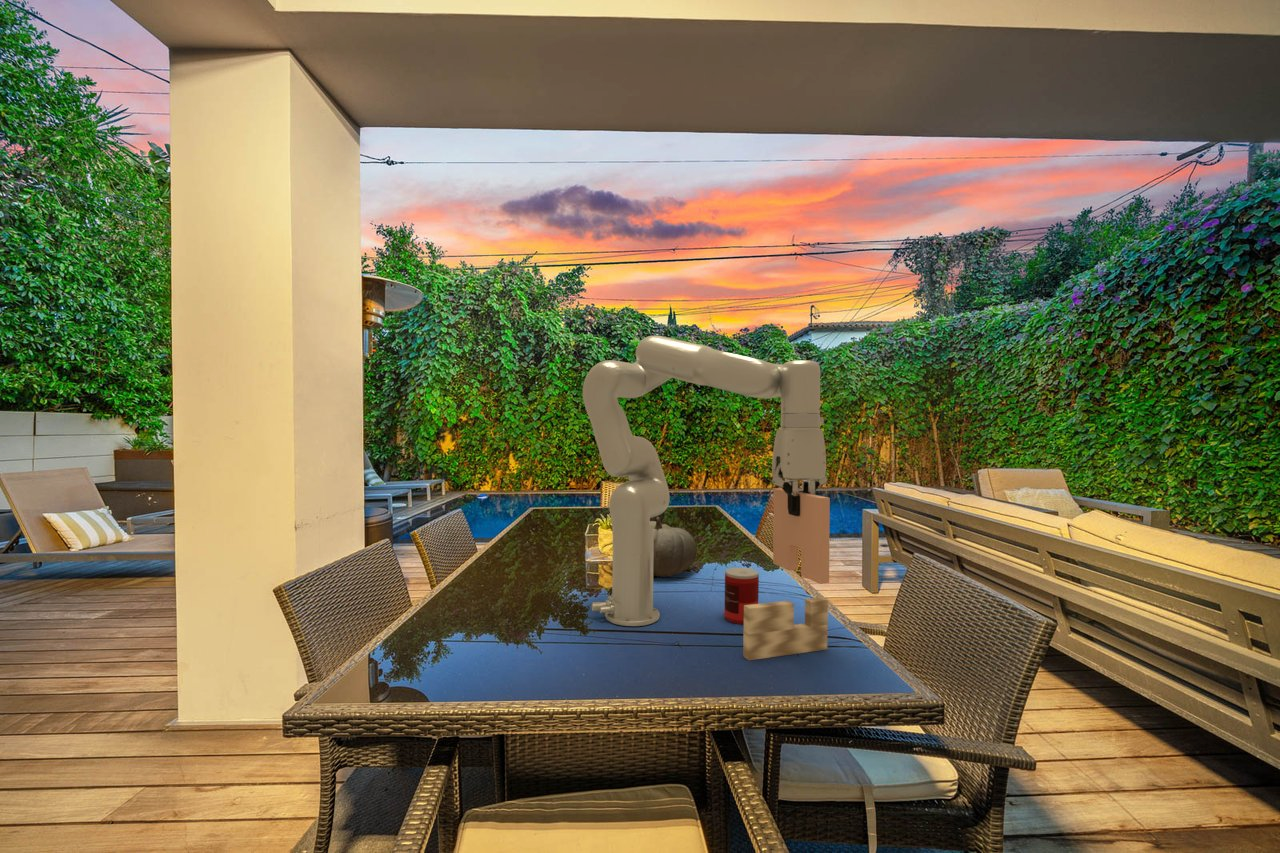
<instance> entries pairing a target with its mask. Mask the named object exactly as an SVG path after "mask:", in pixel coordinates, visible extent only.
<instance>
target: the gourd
mask: <svg viewBox="0 0 1280 853" xmlns="http://www.w3.org/2000/svg"><path fill="white" fill-rule="evenodd" d="M650 524H651V528H652V532H653V541H654V559H653V576H655V577H662V578H663V577H665V578H666V577H667V578H668V577H670V576H676V575H678V574H680V573H683V572H685V571H686V570H689V568H690V567H691V566H692V565H693V564H694V562H695V561H696V558H697V556H698V555H697V552H698V546H697V543H696V541H695V539H694V537H693V535H692V534H691V533H690V532H689V531H687V530H686V529H684V528H680V527H671V526H670V525H668V524H666V523H662V522H661V519H660V517H659V516H656V519H655V521H654V520H650Z"/></svg>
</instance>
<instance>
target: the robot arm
mask: <svg viewBox="0 0 1280 853" xmlns="http://www.w3.org/2000/svg"><path fill="white" fill-rule="evenodd" d="M635 358H636V361H634V362H625V361H619V360H613V359H610V360H607V359H606V360H603V361H599V362H598V363H596V364H595V365H593V366H592V367H591V368H590V370H589V371H588V373H587V375H586V376H585V378H584V382H583V385H582V400H583V404H584V407H585V410H586V413H587V416H588V418H589V421H590V424H591V427H592V432H593V434H594V439H595V443H596V446H597V448H598V449H597V450H598V451H599V455H600V459H601V462H602V465H603V468H604V470H605V471H606V473H607V474H609V476H611V477H613V478H614V477H615V478H627V477H628V481H626V482H623V483H622V484H620V485H618V486H617V487H616V488H614V490H613V491H612V493H611V495H610V498H609V503H608V504H609V505H608V506H609V514H610V521H611V528H612V574H611V575H612V579H611V580H612V585H611V589H612V591H611V592H612V593H611V595H609V596H608V599H606V600H604V601H601V602H600V601H596V602H595V601H594V602H591V611H592V612H598V611H599V613H600V614H604V616H605V619H606V621H608V622H609V623H612V624H614V625H619V626H625V627H640V626H641V627H642V626H648V625H652V624H654V623H656V622H657V621H658V620H659V619H660V611H659V610H658V608H656V607H654V575H653V559H654V541H653V532H652V528H651V524H650V521H651V519H652V518H655V517H656V518H657V517H659V516H660V515H662V514H663V513H664V512H665V511H666V510H667V508H668V507H669V505H670V489H669V486H668V483H667V479H666V476H665V472H664V470H663V467H662V464H661V460H660V458H659V455H658V452H657V450H656V448H655V446H654V445H653V444H652V443H651V441H650V440H649V439H647V438H645V437H642V436H635V435H633V433H632V430H631V428H630V425H629V422H628V421H629V420H628V418H627V415H626V413H625V411H624V409H623V408H622V407H621V405H620V403H619V401H618V398H624V399H636V398H640V397H642V396H644V395H646V394H647V393H649V392H651V391H653V390H655V388H658V387H659V386H661V385H663V384H664V383H665V382H668V381H669V380H670V379H676V380H680V381H684V382H686V383H692V384H695V385H698V386H706V387H707V386H708V387H711V388H715V389H719V390H723V391H727V392H729V393H730V392H731V393H734V394H739V395H742V396H746V397H751V398H757V399H764V400H765V399H766V400H767V399H776V398H780V429H776V434H775V437H774V443H773V450H772V463H771V467H772V468H771V473H772V480H771V483H772V484H773V485H775V486H777V487H779V488H782V489H783V490H784V491H785V494H787V495H788V513H789V514H790V515H794V516H800V496H797V494H798V492H799V481H801V492H803V493H808V494H813V495H816V491H817V490H818V489H819V487H820V486H822V485H824V484H826V483H827V482H828V477H827V475H826V472H827V456H826V455H827V453H826V452H827V451H826V444H825V443H826V442H825V437H824V433H823V430H822V429H821V424H824V423H825V418H824V417H823V416H822V417H821V367H820V364H819V362H817V361H815V360H807V359H806V360H805V359H802V360H801V359H800V360H799V359H798V360H789V361H787V362H784V363H783V364H782V363H781V364H780V363H772V362H769V361H766V360H763V359H760V358H759V359H758V358H755V357H749V356H746V355H741V354H736V353H732V352H728V351H723V350H719V349H715V348H713V347H711V346H709V345H704V344H698V343H694V342H689V341H685V340H682V339H681V340H680V339H676V338H673V337H667V336H663V335H662V336H661V335H648V336H646V337H644V338H643V339H641V340H640V341H639V343H638V344H637V345H636V349H635ZM783 479H784V480H783Z"/></svg>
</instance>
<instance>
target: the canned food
mask: <svg viewBox="0 0 1280 853" xmlns="http://www.w3.org/2000/svg"><path fill="white" fill-rule="evenodd" d="M759 578H760V574H759V571H758V570H756V569H755V568H754V569H753V568H749V567H743V566H742V567H737V566H736V567H731V568H728V569H726V570H725V572H724V617H725V619H726V620H727V621H728V622H730V623H733V624H737V625H744V605H752V604H759V591H760V590H759V588H760V587H759V586H760V584H759V582H760V579H759Z"/></svg>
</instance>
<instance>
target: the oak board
mask: <svg viewBox="0 0 1280 853" xmlns="http://www.w3.org/2000/svg"><path fill="white" fill-rule="evenodd" d="M828 618H829V600H828V599H827V598H824V597H822V596H821V597H820V596H819V597H811V598H805V599H804V623H798V624H796V623H795V622H794V621H795V620H794V619H795V603H793V602H791V601H790V600H782V601H781V600H780V601H772V602H763V603H758V604H752V605H744V624H743V641H742V642H743V644H742V645H743V648H742V649H743V650H742V656H743V658H744V659H745V660H747V661H755V660H761V659H762V660H763V659H768V658H777V657H782V656H789V655H796V654H805V653H812V652H817V651H825V650H828V624H829V622H828V621H829V620H828Z"/></svg>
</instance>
